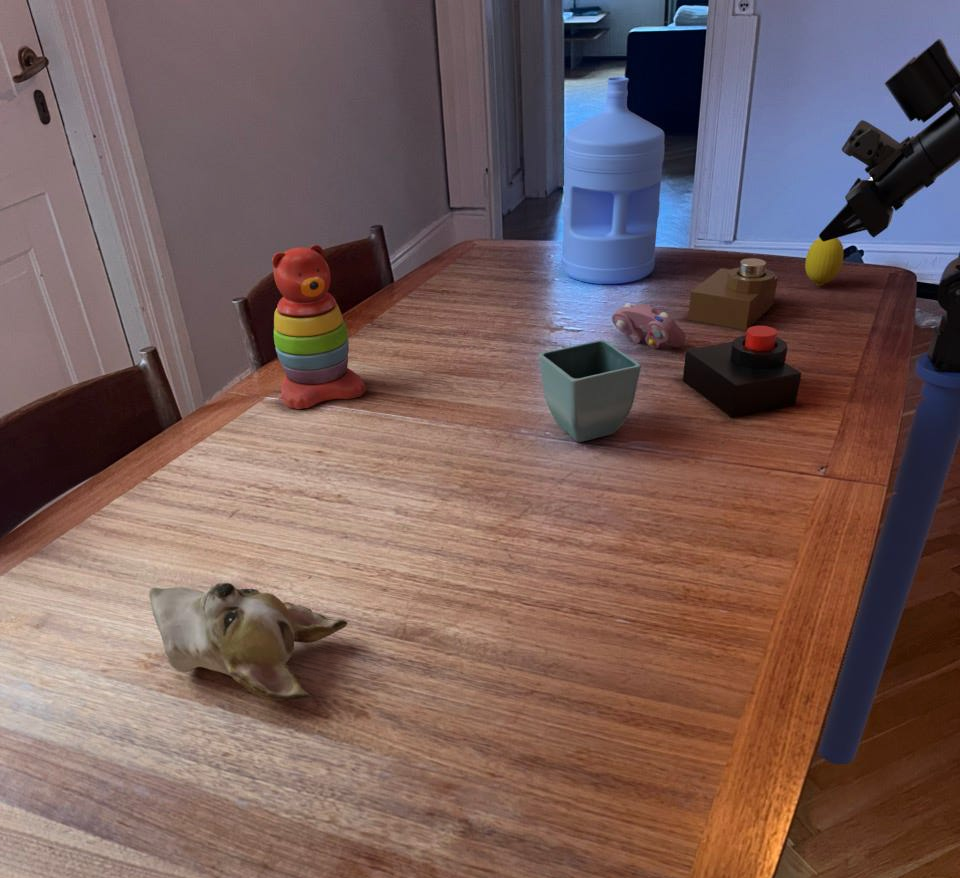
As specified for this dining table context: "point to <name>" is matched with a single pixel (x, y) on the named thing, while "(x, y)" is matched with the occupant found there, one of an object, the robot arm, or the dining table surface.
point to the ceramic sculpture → (238, 635)
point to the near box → (742, 377)
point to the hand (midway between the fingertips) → (821, 238)
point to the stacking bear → (310, 332)
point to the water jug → (611, 193)
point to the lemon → (824, 260)
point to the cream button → (752, 268)
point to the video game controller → (648, 325)
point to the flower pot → (589, 388)
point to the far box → (732, 299)
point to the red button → (761, 338)
